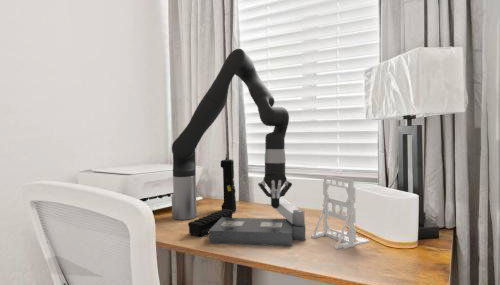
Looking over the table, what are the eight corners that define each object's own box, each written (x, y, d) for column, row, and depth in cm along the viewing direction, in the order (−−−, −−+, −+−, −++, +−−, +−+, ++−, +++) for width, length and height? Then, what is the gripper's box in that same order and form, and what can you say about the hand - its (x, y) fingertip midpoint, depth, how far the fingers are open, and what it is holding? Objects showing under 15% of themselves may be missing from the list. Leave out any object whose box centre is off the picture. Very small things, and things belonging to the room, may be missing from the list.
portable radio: (235, 213, 142) (234, 155, 141) (221, 213, 142) (220, 155, 141) (236, 209, 150) (235, 154, 149) (223, 209, 150) (221, 154, 149)
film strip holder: (373, 242, 102) (373, 178, 102) (339, 250, 96) (338, 181, 96) (341, 230, 115) (340, 173, 115) (309, 236, 109) (308, 176, 109)
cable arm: (306, 225, 106) (306, 211, 106) (294, 226, 106) (294, 212, 106) (282, 206, 134) (282, 195, 134) (272, 207, 133) (272, 196, 133)
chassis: (209, 243, 105) (208, 229, 105) (221, 228, 120) (221, 216, 120) (305, 246, 100) (305, 232, 100) (305, 230, 116) (305, 218, 115)
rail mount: (220, 221, 131) (220, 208, 131) (234, 223, 128) (234, 210, 128) (185, 236, 113) (184, 222, 113) (200, 239, 110) (200, 224, 109)
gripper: (289, 160, 127) (289, 204, 128) (255, 160, 125) (255, 206, 125) (295, 161, 120) (295, 209, 120) (259, 162, 117) (259, 211, 118)
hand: (275, 207), depth 123 cm, fingers closed
